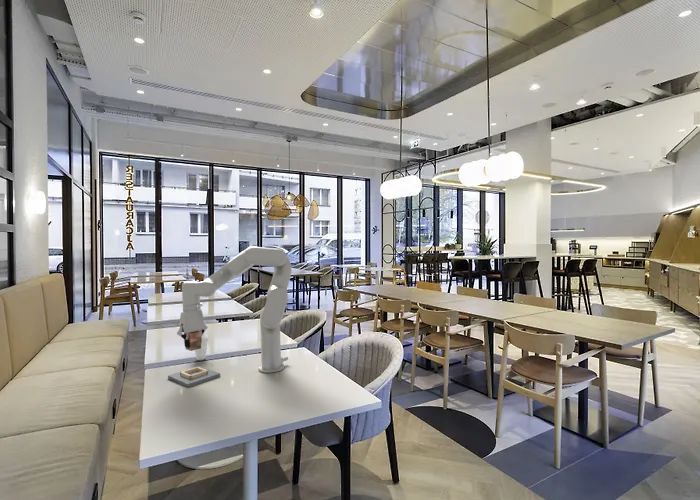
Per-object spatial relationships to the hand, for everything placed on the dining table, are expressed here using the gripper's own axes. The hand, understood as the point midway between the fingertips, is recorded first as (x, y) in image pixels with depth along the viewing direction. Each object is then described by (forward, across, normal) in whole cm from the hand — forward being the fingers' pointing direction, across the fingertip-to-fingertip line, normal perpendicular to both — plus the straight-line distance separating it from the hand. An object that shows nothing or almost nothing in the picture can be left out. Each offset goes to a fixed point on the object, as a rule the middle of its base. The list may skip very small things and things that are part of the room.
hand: (193, 345), depth 179 cm
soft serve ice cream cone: (+15, -17, -23) cm, 32 cm away
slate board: (+15, 0, 0) cm, 15 cm away
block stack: (+2, 0, 0) cm, 2 cm away
